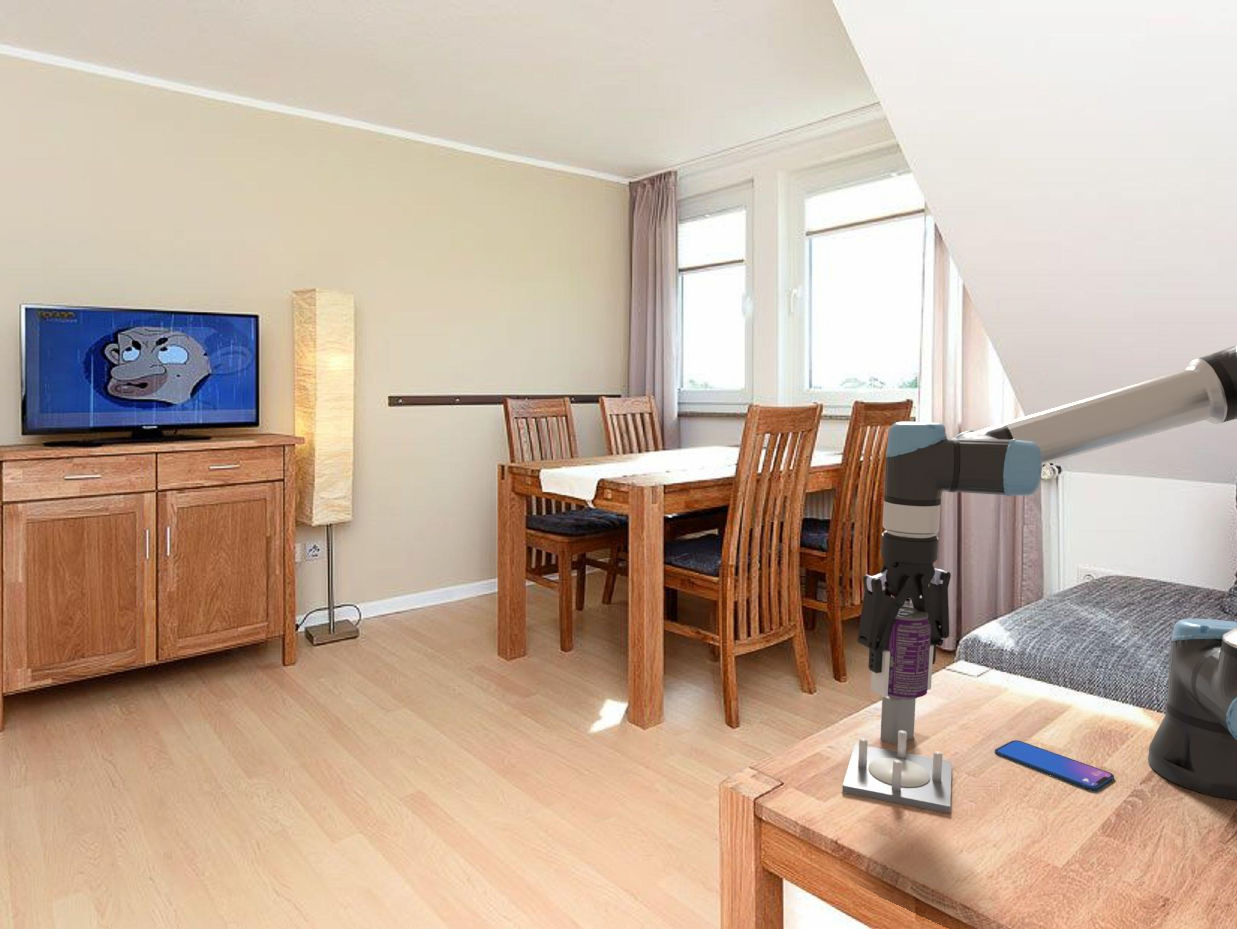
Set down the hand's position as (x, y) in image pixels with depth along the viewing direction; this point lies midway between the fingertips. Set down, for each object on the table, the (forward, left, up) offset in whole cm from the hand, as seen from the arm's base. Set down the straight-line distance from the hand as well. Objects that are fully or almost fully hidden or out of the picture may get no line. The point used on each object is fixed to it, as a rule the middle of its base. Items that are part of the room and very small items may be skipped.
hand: (900, 689), depth 116 cm
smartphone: (-21, -14, -14) cm, 29 cm away
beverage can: (0, 0, -1) cm, 1 cm away
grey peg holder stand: (0, 0, -13) cm, 13 cm away
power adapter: (+1, -14, -14) cm, 20 cm away
